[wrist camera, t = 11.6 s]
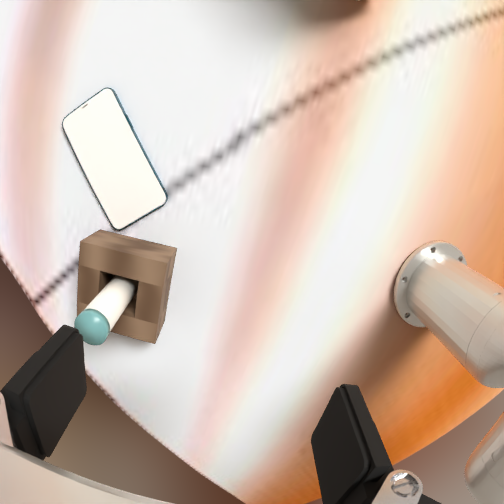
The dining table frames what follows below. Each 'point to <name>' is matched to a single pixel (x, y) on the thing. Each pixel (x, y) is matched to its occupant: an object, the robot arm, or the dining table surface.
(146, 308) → the socket block
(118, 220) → the smartphone
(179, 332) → the dining table surface
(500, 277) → the dining table surface
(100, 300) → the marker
